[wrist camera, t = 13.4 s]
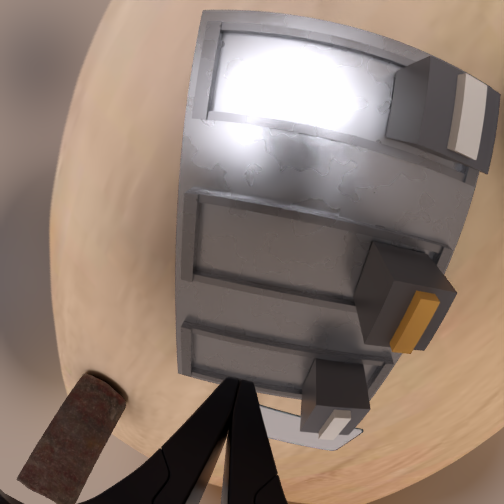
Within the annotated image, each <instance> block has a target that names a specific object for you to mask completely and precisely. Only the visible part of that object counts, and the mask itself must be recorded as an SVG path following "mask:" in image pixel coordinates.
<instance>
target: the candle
mask: <svg viewBox="0 0 504 504" xmlns="http://www.w3.org/2000/svg"><path fill="white" fill-rule="evenodd" d="M125 407H126V402H125V400H124V398H123V397H122V396H121V395H119V394H118V393H117V392H116V391H115V390H113V389H112V387H111V386H109V385H108V384H107V383H106V382H104V381H102V380H100V379H97V378H96V377H94V376H92V375H88V374H86V373H85V374H84V375H82V377H81V378H80V380H79V381H78V382H77V384H76V385H75V387H74V388H73V389H72V391H71V392H70V394H69V395H68V397H67V398H66V400H65V401H64V403H63V404H62V406H61V407H60V409H59V410H58V412H57V414H56V415H55V416H54V418H53V420H52V421H51V423H50V425H49V426H48V428H47V429H46V431H45V432H44V434H43V436H42V438H41V439H40V440H39V442H38V444H37V445H36V447H35V449H34V450H33V452H32V453H31V455H30V457H29V459H28V461H27V462H26V464H25V465H24V467H23V469H22V471H21V472H20V474H19V475H18V478H17V480H18V481H20V482H21V483H22V484H24V485H25V486H26V487H27V488H29V489H31V490H32V491H34V492H37V493H39V494H41V495H43V496H45V497H46V498H49V499H51V500H52V501H54V502H55V503H56V504H75V503H76V501H77V499H78V497H79V495H80V493H81V491H82V489H83V487H84V485H85V483H86V481H87V478H88V477H89V475H90V473H91V471H92V469H93V467H94V465H95V463H96V461H97V460H98V458H99V455H100V453H101V452H102V450H103V448H104V446H105V444H106V443H107V441H108V438H109V437H110V435H111V433H112V431H113V430H114V428H115V426H116V424H117V422H118V420H119V419H120V417H121V415H122V413H123V411H124V409H125Z"/></svg>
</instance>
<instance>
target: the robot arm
mask: <svg viewBox="0 0 504 504" xmlns="http://www.w3.org/2000/svg"><path fill="white" fill-rule="evenodd" d="M227 434H228V436H227ZM226 438H227V443H226V454H225V464H224V475H223V486H222V497H221V504H288V503H287V500H286V498H285V495H284V492H283V489H282V486H281V482H280V479H279V476H278V475H277V474H278V472H277V469H276V465H275V461H274V458H273V454H272V451H271V447H270V443H269V439H268V436H267V432H266V428H265V424H264V421H263V417H262V413H261V409H260V405H259V401H258V397H257V393H256V389H255V385H254V383H253V381H249V380H244V379H241V380H240V379H239V378H235V377H231V376H227V377H226V378H225V379H224V380H223V381H222V382H221V384H220V385H219V386H218V387H217V388H216V389H215V390H214V391H213V393H212V394H211V395H210V396H209V397H208V398H207V399H206V400H205V401H204V402H203V404H202V405H201V406H200V407H199V408H198V409H197V410H196V411H195V412H194V413H193V414H192V415H191V417H190V418H189V419H188V420H187V421H186V422H185V423H184V424H183V425H182V426H181V427H180V428H179V429H178V430H177V431H176V432H175V433H174V434H173V435H172V436H171V437H170V438H169V440H168V441H167V442H166V443H165V444H164V445H163V446H162V447H161V448H162V449H161V448H160V449H158V450H157V451H156V452H155V453H154V454H153V455H152V456H151V457H150V458H149V459H148V460H147V461H146V462H145V463H144V464H142V465H141V466H140V467H139V468H138V469H136V470H135V471H134V472H132V473H131V474H130V475H128V476H127V477H125V478H124V479H122V480H121V481H120V482H118V483H116V484H115V485H114V486H112V487H110V488H109V489H107V490H106V491H104V492H103V493H101V494H99V495H98V496H96V497H94V498H92V499H89V500H87V501H85V502H81V503H78V504H199V502H200V500H201V498H202V495H203V493H204V491H205V489H206V486H207V484H208V482H209V479H210V477H211V475H212V472H213V470H214V468H215V465H216V463H217V460H218V458H219V456H220V453H221V451H222V448H223V446H224V443H225V441H226ZM0 504H23V503H22V502H20V501H18V500H16V499H14V498H12V497H10V496H9V495H7V494H5V493H4V492H3V491H2V490H0Z"/></svg>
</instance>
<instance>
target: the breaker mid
mask: <svg viewBox="0 0 504 504" xmlns="http://www.w3.org/2000/svg"><path fill="white" fill-rule="evenodd" d="M456 294H457V292H456V290H455V289H454V288H453V286H452V285H451V284H450V282H449V281H448V280H447V278H446V277H445V276H444V274H443V273H442V272H441V271H440V269H439V268H438V267H437V265H436V264H435V263H434V262H433V260H432V259H431V258H430V257H429V256H428V254H425V253H421V252H417V251H413V250H409V249H405V248H401V247H397V246H392V245H388V244H384V243H380V242H375V241H373V242H372V245H371V248H370V251H369V254H368V257H367V260H366V263H365V266H364V269H363V271H362V274H361V277H360V280H359V282H358V285H357V288H356V290H355V293H354V296H353V298H354V302H355V306H356V310H357V314H358V319H359V323H360V327H361V332H362V336H363V341H364V344H366V345H374V346H382V347H391V350H392V352H396V353H407V354H411V352H412V351H413V350H423V351H424V350H425V349H426V347H427V346H428V344H429V343H430V341H431V339H432V338H433V336H434V334H435V333H436V331H437V329H438V328H439V326H440V324H441V322H442V321H443V319H444V317H445V315H446V313H447V312H448V310H449V308H450V306H451V304H452V302H453V300H454V298H455V296H456Z"/></svg>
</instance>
